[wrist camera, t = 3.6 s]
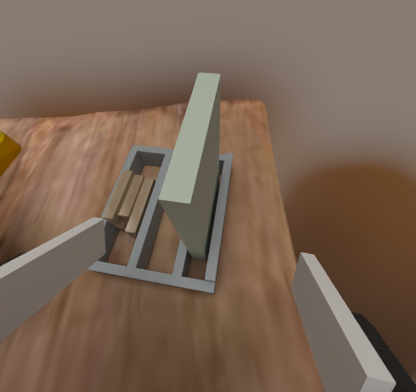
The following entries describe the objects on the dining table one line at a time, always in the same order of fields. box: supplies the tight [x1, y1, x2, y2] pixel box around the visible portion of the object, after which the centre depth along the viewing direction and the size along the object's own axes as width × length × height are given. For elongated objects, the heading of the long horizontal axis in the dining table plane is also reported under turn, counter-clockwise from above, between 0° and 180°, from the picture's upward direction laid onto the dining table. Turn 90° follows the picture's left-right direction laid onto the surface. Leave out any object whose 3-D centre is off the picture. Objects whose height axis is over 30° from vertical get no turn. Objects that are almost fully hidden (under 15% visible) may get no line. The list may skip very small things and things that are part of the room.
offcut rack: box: [87, 145, 233, 294], centre depth 30 cm, size 18×21×6 cm
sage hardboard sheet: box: [158, 73, 221, 261], centre depth 24 cm, size 2×13×20 cm, turn 170°
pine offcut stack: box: [102, 170, 156, 239], centre depth 31 cm, size 4×9×6 cm, turn 170°
